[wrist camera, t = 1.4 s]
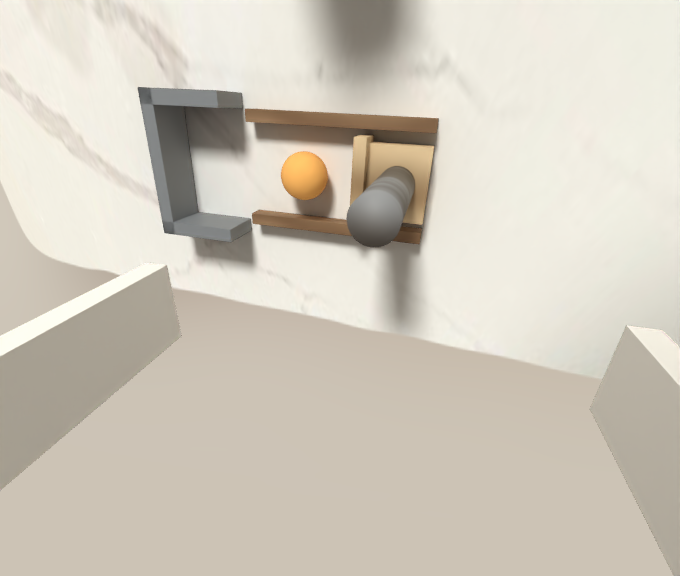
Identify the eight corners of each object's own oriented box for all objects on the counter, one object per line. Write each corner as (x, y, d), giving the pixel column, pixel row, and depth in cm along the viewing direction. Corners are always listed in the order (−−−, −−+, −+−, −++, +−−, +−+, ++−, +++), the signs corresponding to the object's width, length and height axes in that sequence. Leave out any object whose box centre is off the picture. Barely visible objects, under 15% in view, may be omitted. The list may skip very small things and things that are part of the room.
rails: (253, 108, 32) (244, 108, 30) (438, 118, 28) (438, 118, 27) (259, 219, 36) (252, 223, 35) (420, 239, 33) (419, 244, 31)
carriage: (362, 134, 30) (312, 147, 19) (435, 139, 29) (430, 156, 17) (356, 216, 33) (311, 270, 22) (422, 224, 32) (411, 285, 21)
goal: (170, 89, 33) (137, 87, 29) (241, 92, 31) (216, 90, 28) (189, 222, 38) (164, 232, 35) (251, 229, 37) (231, 242, 33)
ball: (290, 147, 32) (272, 152, 29) (333, 151, 31) (320, 155, 28) (291, 192, 34) (274, 202, 31) (332, 196, 33) (319, 206, 30)
